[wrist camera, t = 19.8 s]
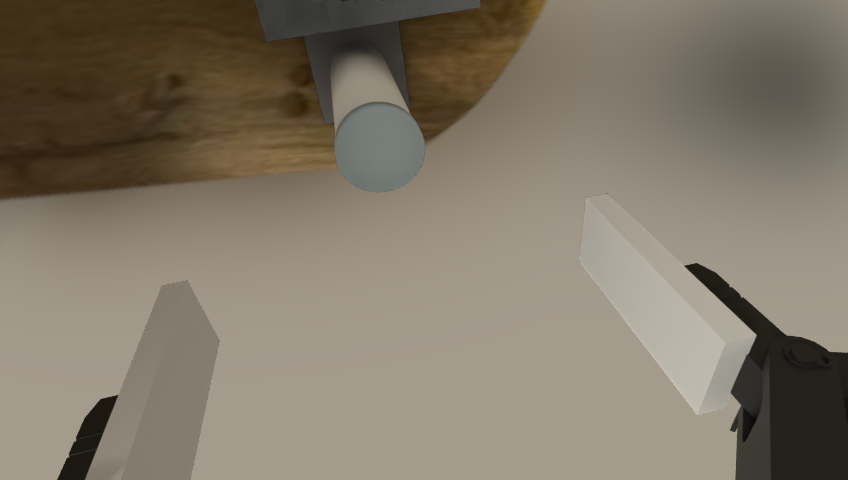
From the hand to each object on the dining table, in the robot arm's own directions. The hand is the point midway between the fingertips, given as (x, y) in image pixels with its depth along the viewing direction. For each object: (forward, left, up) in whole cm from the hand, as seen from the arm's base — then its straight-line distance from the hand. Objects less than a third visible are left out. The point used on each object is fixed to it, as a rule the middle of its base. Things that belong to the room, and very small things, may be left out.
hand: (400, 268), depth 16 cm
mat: (0, 0, -26) cm, 26 cm away
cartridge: (0, 0, -25) cm, 25 cm away
